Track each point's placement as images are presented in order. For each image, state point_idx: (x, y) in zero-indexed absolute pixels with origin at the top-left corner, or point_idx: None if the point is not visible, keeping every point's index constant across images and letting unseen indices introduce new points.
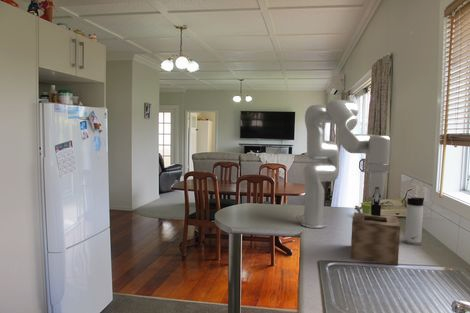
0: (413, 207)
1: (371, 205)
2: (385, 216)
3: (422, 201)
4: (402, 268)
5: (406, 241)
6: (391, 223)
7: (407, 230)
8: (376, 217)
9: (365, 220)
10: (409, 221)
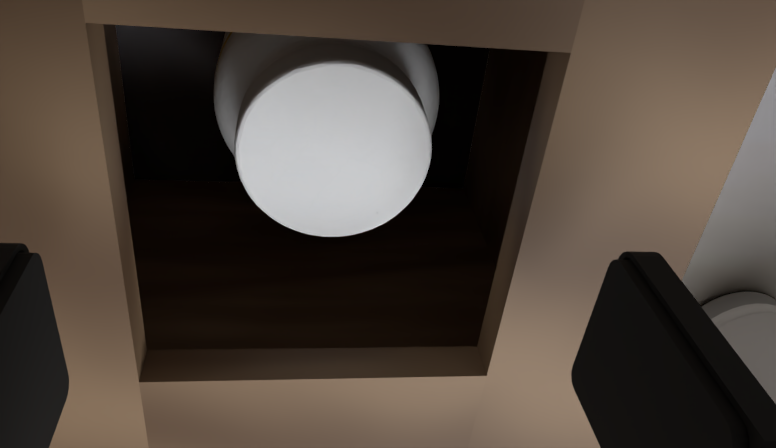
0: None
1: (673, 315)
2: (569, 367)
3: None
4: None
5: (722, 303)
6: (108, 424)
7: (773, 374)
8: (513, 249)
9: (63, 54)
10: None
